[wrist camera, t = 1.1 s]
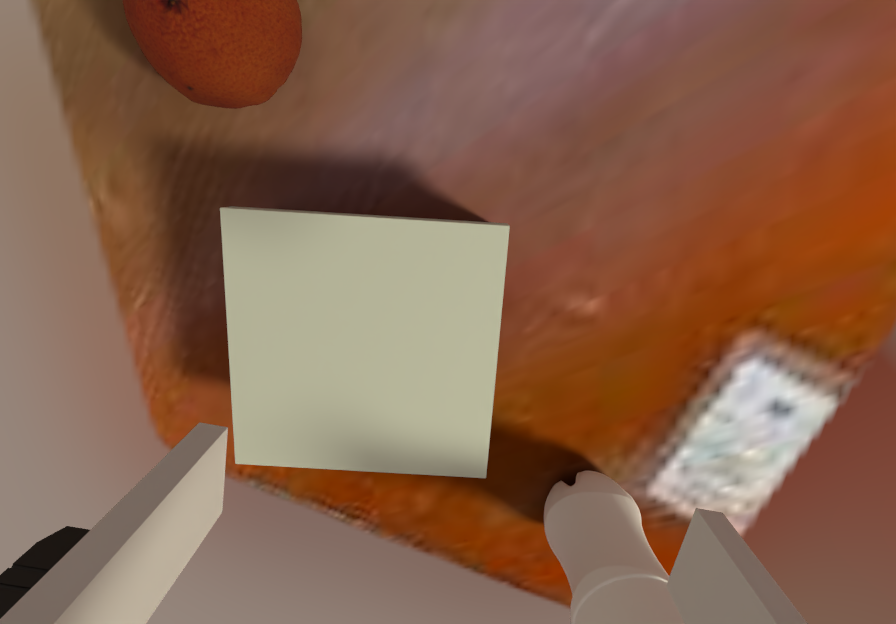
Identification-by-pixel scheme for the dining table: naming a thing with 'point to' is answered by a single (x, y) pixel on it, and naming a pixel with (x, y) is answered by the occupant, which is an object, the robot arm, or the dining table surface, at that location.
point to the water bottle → (606, 554)
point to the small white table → (362, 339)
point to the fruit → (219, 46)
